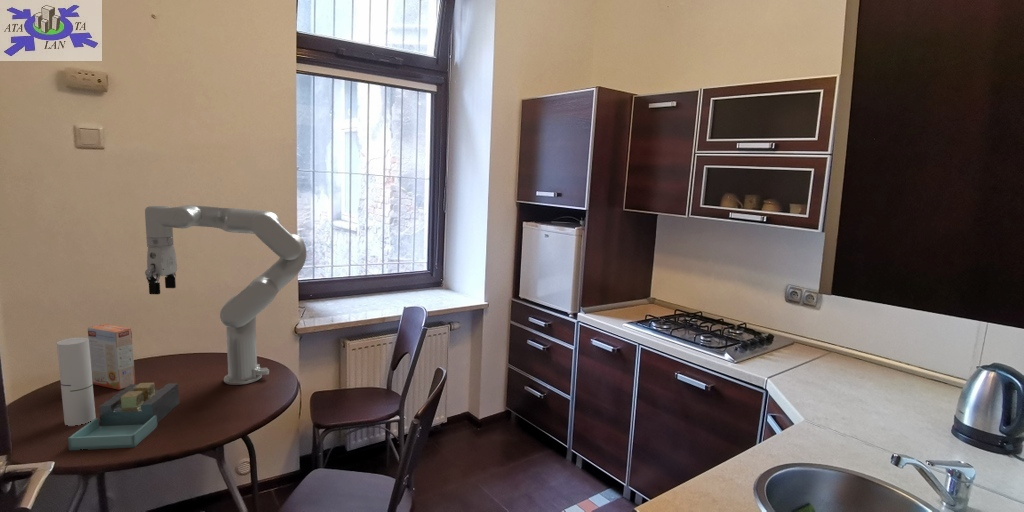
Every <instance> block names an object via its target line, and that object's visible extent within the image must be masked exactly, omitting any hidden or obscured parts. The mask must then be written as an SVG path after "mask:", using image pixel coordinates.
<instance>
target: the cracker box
mask: <svg viewBox="0 0 1024 512" xmlns="http://www.w3.org/2000/svg"><path fill="white" fill-rule="evenodd" d="M132 331H133V330H132V328H130V327H125V326H120V325H113V324H109V323H108V324H107V323H102V324H97V325H94V326H89V327H87V338H88V339H89V349H90V360H91V371H92V383H93V385H96V386H100V387H104V388H105V387H106V388H109V389H113V390H118V391H121V390H123V389H125V388H126V387H128V386H129V385H131V384H136V376H135V361H134V349H133V348H134V347H133V334H132Z"/></svg>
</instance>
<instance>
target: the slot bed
mask: <svg viewBox="0 0 1024 512" xmlns="http://www.w3.org/2000/svg"><path fill="white" fill-rule="evenodd" d="M138 384H139V383H138ZM138 384H137V383H135V384H131V385H129V386H128V387H126V388H123V389H121V390H119V392H118V393H116V394H114V395H113V396H112V397H110V398H109V399H108V400H106V401H105V402H103V403H102V404H101V405H99V422H100V426H120V425H144V424H145V423H146V422H147V421H149V420H150V419H151V418H152V417H153V416H157V424H158V423H159V422H161V420H163V419H164V418H165V417H166V416H167V415H168V414H170V412H172V411H173V410H174V409H175V408H176V407H177V406H178V405H179V404H180V395H179V393H180V392H179V383H178V382H174V383H173V382H172V383H171V382H170V383H167V384H165V385H164V386H163V387H161V388H160V389H155V394H154V395H153V396H151V397H150V398H149V399H148V400H144V403H143V404H141V406H140V407H139V408H138V409H128V410H122V406H121V396H123V395H124V394H126V393H127V392H128V391H133V388H134V387H135V386H137V385H138Z"/></svg>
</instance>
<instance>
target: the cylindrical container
mask: <svg viewBox="0 0 1024 512" xmlns="http://www.w3.org/2000/svg"><path fill="white" fill-rule="evenodd" d="M56 350H57V360H58V370H59V371H58V372H59V380H60V389H61V399H62V400H61V401H62V409H63V411H62V413H63V419H64V420H63V421H64V425H65V426H66V425H68V426H67V427H76V426H75V425H78V426H82V425H81V424H83V425H86V424H88V422H89V423H90V421H92V420H94V419H95V418H97V417H96V408H95V407H96V406H95V405H96V404H95V396H94V384H93V383H92V371H91V360H90V349H89V339H88V337H86V336H78V337H77V336H76V337H69V338H65V339H61V340H59V341H57V342H56ZM85 423H86V424H85Z"/></svg>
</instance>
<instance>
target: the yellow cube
mask: <svg viewBox="0 0 1024 512" xmlns="http://www.w3.org/2000/svg"><path fill="white" fill-rule="evenodd" d="M143 403H144V396H143V391H128V392H127V393H126V394H124V395H123V396H121V406H122V410H128V409H138V408H139V407H140V406H141V404H143Z"/></svg>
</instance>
